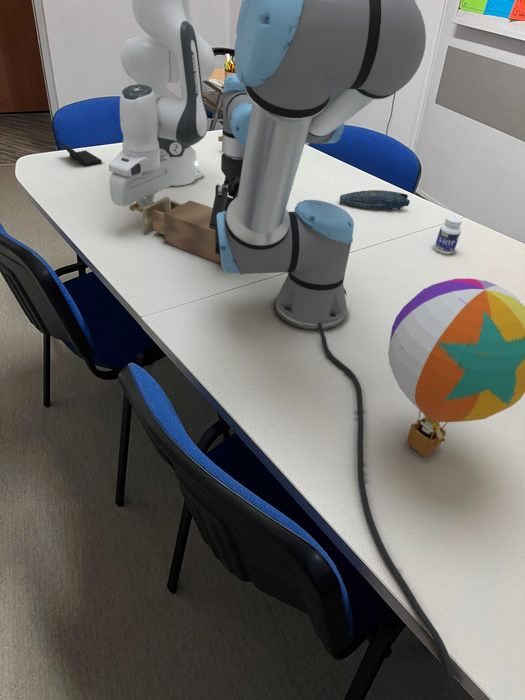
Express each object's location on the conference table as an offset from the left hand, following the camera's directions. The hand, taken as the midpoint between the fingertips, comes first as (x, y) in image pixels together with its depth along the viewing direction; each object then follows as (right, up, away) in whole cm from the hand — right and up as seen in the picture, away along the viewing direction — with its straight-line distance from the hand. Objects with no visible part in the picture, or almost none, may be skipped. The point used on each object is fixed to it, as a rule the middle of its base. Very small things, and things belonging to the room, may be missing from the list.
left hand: (145, 211), depth 138 cm
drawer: (+9, -6, -2) cm, 11 cm away
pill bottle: (+80, -10, +3) cm, 81 cm away
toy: (+57, -53, -53) cm, 94 cm away
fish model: (+65, +8, +23) cm, 69 cm away
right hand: (+24, -11, -10) cm, 29 cm away
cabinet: (+18, -11, -6) cm, 22 cm away
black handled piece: (-29, +26, +34) cm, 52 cm away
